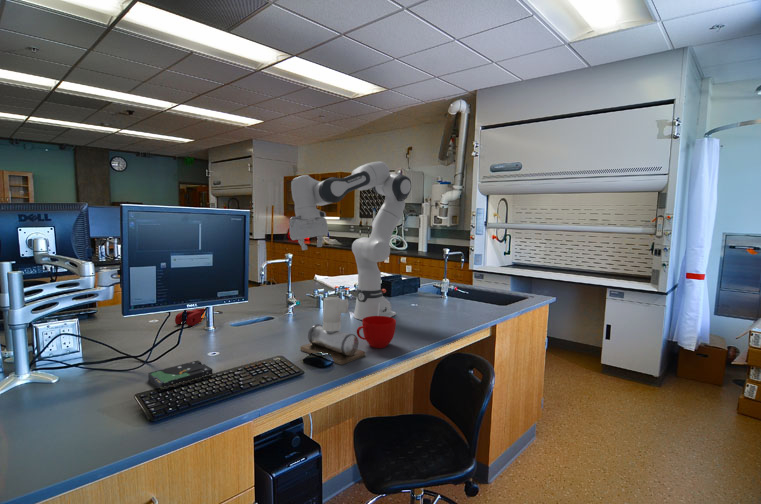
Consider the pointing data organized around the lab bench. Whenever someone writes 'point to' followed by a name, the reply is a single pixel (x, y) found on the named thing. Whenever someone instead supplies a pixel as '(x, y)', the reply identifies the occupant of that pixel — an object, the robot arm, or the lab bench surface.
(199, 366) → the disk drive
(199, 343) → the lab bench surface
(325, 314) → the duct elbow
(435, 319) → the lab bench surface
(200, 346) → the lab bench surface
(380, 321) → the ceramic cup
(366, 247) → the robot arm
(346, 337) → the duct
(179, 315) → the dark red rounded piece
